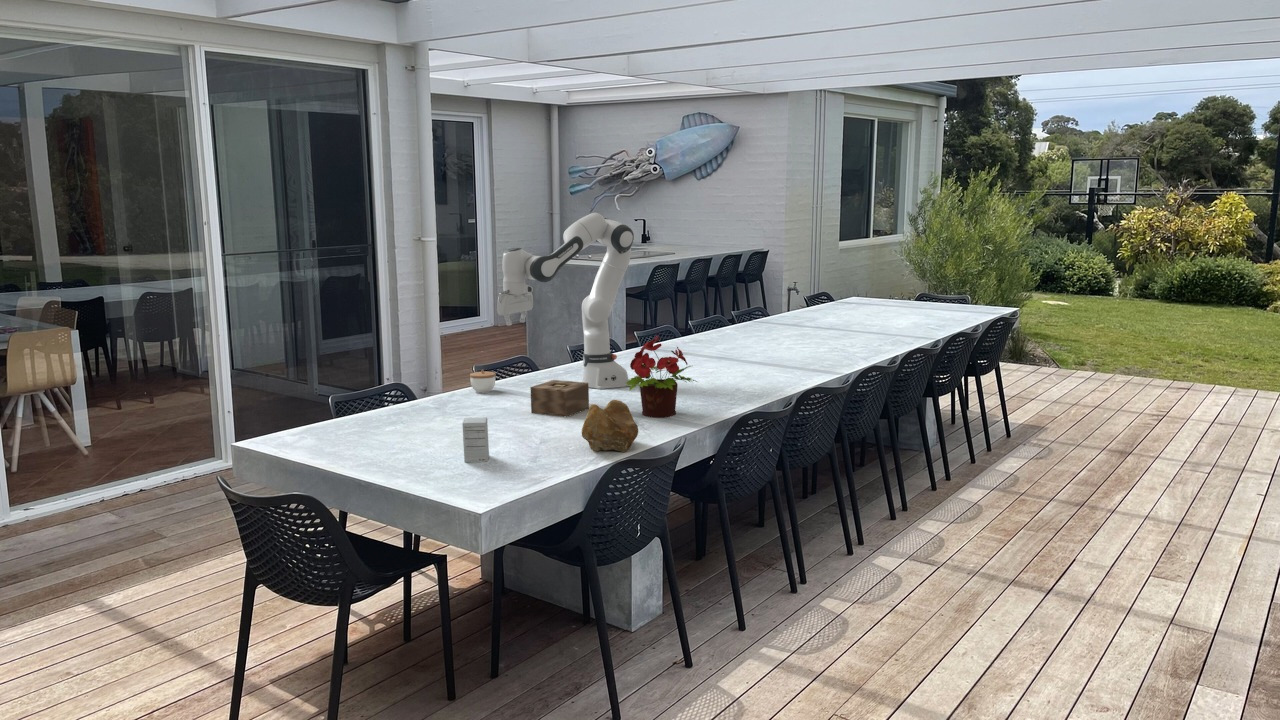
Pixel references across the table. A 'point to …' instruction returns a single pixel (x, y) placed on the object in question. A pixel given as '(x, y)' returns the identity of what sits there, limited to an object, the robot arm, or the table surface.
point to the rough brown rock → (610, 427)
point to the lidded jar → (482, 381)
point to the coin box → (559, 398)
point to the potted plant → (656, 381)
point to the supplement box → (475, 439)
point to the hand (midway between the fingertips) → (515, 323)
